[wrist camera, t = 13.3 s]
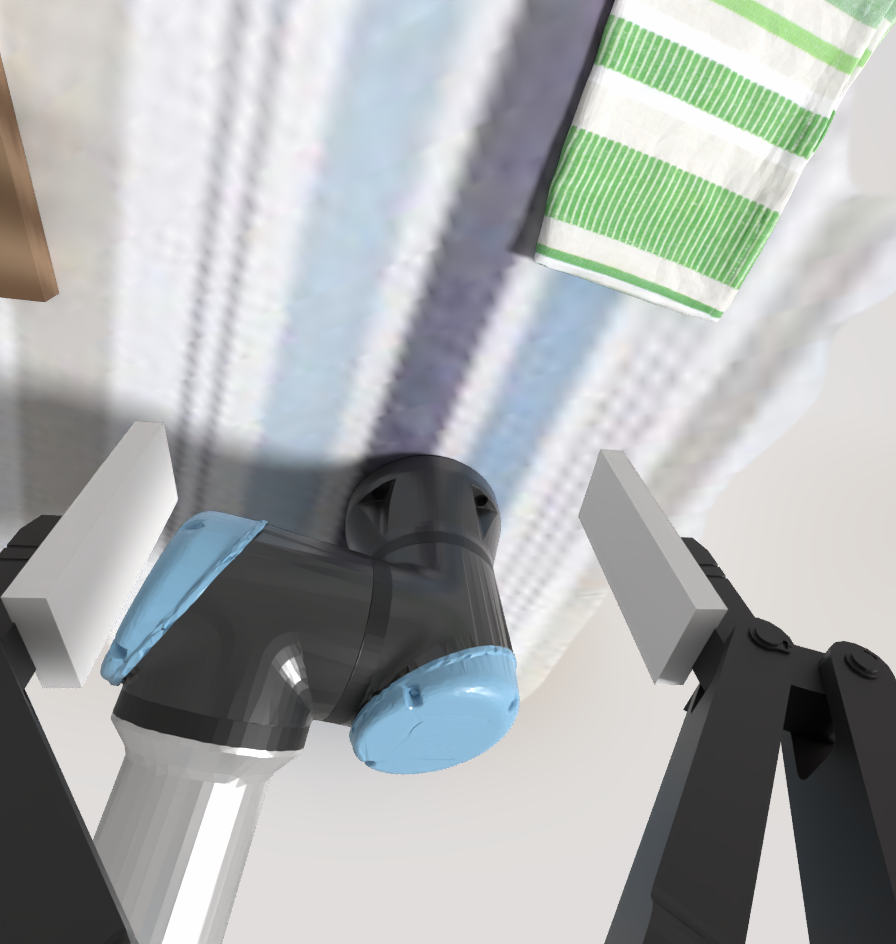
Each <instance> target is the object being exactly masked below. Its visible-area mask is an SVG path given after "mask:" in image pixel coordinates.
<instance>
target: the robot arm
mask: <svg viewBox="0 0 896 944" xmlns="http://www.w3.org/2000/svg"><path fill="white" fill-rule="evenodd" d="M177 501H178V496H177V490H176V485H175V480H174V474H173V469H172V463H171V458H170V452H169V447H168V441H167V436H166V430H165V425H164V423H161V422H145V421H135V422H134V423H133V425H132V426H131V427H130V428H129V430H128V431H127V432H126V434H125V435H124V436H123V438H122V439H121V440H120V442H119V443H118V444H117V446H116V447H115V448H114V449H113V451H112V452H111V453H110V455H109V456H108V457H107V459H106V460H105V461H104V463H103V464H102V465H101V466H100V468H99V469H98V470H97V472H96V473H95V474H94V476H93V477H92V478H91V480H90V481H89V482H88V483H87V485H86V486H85V487H84V489H83V490H82V491H81V493H80V494H79V495H78V497H77V498H76V499H75V501H74V502H73V503H72V504H71V506H70V507H69V508H68V510H67V511H66V512H65V514H64V515H63V516H54V515H41V516H40V517H38V518H36V519H35V520H33V521H32V522H30V523H29V524H27V525H26V526H24V527H22V528H21V529H20V530H19V531H18V532H17V534H16V535H15V536H14V537H13V538H12V540H11V541H10V542H9V543H8V544H7V548H4V549H3V550H2V551H1V553H0V944H222V941H223V938H224V934H225V931H226V927H227V924H228V921H229V917H230V914H231V910H232V907H233V903H234V900H235V897H236V893H237V890H238V886H239V883H240V879H241V876H242V872H243V869H244V866H245V862H246V859H247V855H248V852H249V848H250V845H251V842H252V838H253V835H254V832H255V828H256V825H257V821H258V818H259V814H260V811H261V808H262V804H263V801H264V797H265V794H266V790H267V787H268V783H269V780H270V777H271V776H272V775H273V774H274V773H275V772H276V771H277V770H279V769H280V768H282V767H283V766H285V765H286V764H287V763H289V762H290V761H291V760H293V759H294V758H296V757H297V756H299V755H300V754H301V753H302V751H303V748H304V745H305V741H306V737H307V734H308V731H309V727H310V724H311V722H312V721H313V720H319V721H324V722H330V723H335V724H339V725H344V726H348V727H351V730H350V734H349V737H350V741H351V744H352V746H353V750H354V753H355V755H356V756H357V757H358V759H359V760H360V761H362V762H365V764H366V765H367V766H368V767H370V768H372V769H375V770H377V771H381V772H385V773H391V774H419V773H426V772H432V771H438V770H442V769H445V768H449V767H452V766H455V765H457V764H460V763H463V762H466V761H468V760H470V759H472V758H475V757H476V756H478V755H480V754H482V753H483V752H485V751H487V750H488V749H490V748H491V747H492V746H494V745H495V744H496V743H497V742H498V741H499V740H501V739H502V738H503V737H504V736H505V734H506V733H507V732H508V731H509V729H510V728H511V726H512V725H513V723H514V721H515V719H516V716H517V714H518V710H519V702H520V698H519V690H518V684H517V676H516V666H517V663H516V658H515V654H513V650H512V646H511V642H510V637H509V633H508V629H507V625H506V621H505V616H504V612H503V608H502V604H501V600H500V595H499V591H498V587H497V583H496V579H495V575H494V570H493V565H494V560H495V555H496V551H497V546H498V542H499V537H500V531H501V518H500V512H499V509H498V505H497V501H496V497H495V495H494V492H493V490H492V489H491V487H490V485H489V484H488V483H487V481H486V480H485V479H484V478H483V477H482V476H481V475H480V474H479V473H477V472H476V471H475V470H473V469H472V468H470V467H468V466H466V465H464V464H462V463H460V462H457V461H455V460H451V459H447V458H443V457H436V456H415V457H408V458H403V459H400V460H396V461H393V462H390V463H388V464H386V465H384V466H382V467H380V468H378V469H376V470H375V471H373V472H372V473H371V474H369V475H368V476H367V477H366V478H365V479H364V480H363V481H362V482H361V483H360V484H359V485H358V486H357V488H356V489H355V491H354V492H353V494H352V496H351V498H350V500H349V503H348V507H347V513H346V524H345V535H346V541H347V545H348V548H349V549H347V548H344V547H340V546H337V545H333V544H330V543H326V542H323V541H319V540H316V539H313V538H310V537H306V536H303V535H300V534H297V533H293V532H290V531H287V530H284V529H281V528H277V527H274V526H271V525H268V521H266V520H260V521H255V520H251V519H247V518H243V517H239V516H235V515H231V514H227V513H223V512H218V511H205V512H201V513H198V514H196V515H194V516H192V517H191V518H189V519H188V520H187V521H186V522H185V523H184V524H183V525H182V526H181V527H180V528H179V529H178V531H177V532H176V533H175V535H174V536H173V538H172V539H171V541H170V542H169V544H168V545H167V547H166V548H165V550H164V551H163V553H162V554H161V556H160V557H159V559H158V560H157V562H156V564H155V565H154V567H153V569H152V570H151V572H150V573H149V575H148V577H147V578H146V580H145V582H144V583H143V585H142V587H141V589H140V590H139V592H138V594H137V596H136V597H135V599H134V601H133V603H132V604H131V606H130V608H129V610H128V612H127V614H126V615H125V617H124V619H123V621H122V623H121V625H120V627H119V629H118V631H117V633H116V636H115V639H114V641H113V643H112V645H111V647H110V650H109V651H108V653H107V654H106V656H105V658H104V660H103V663H102V666H101V671H100V673H101V676H102V677H103V678H104V679H106V680H108V681H109V682H110V684H111V685H116V686H119V685H120V683H122V684H123V687H122V690H121V692H120V695H119V697H118V700H117V702H116V705H115V707H114V710H113V712H112V715H111V720H112V722H113V724H114V726H115V728H116V730H117V731H118V733H119V735H120V737H121V739H122V741H123V743H124V745H125V752H126V755H125V757H124V760H123V763H122V766H121V768H120V771H119V773H118V776H117V779H116V781H115V784H114V786H113V789H112V792H111V794H110V797H109V800H108V802H107V805H106V807H105V810H104V812H103V815H102V818H101V820H100V823H99V826H98V828H97V831H96V833H95V836H94V839H93V841H92V838H91V836H90V834H89V832H88V829H87V827H86V825H85V823H84V820H83V818H82V816H81V814H80V811H79V809H78V807H77V805H76V803H75V801H74V798H73V796H72V794H71V791H70V789H69V787H68V785H67V782H66V780H65V778H64V776H63V773H62V772H61V769H60V767H59V764H58V762H57V760H56V758H55V756H54V753H53V751H52V749H51V747H50V744H49V742H48V740H47V738H46V735H45V733H44V731H43V729H42V726H41V724H40V722H39V720H38V717H37V715H36V713H35V711H34V708H33V706H32V704H31V702H30V700H29V697H28V695H27V693H26V691H25V687H26V685H27V683H28V682H29V680H30V679H31V677H32V676H33V674H34V672H36V675H37V677H38V679H39V681H40V683H41V685H42V687H43V688H82V687H83V685H84V683H85V681H86V679H87V677H88V675H89V673H90V672H91V669H92V668H93V666H94V664H95V662H96V660H97V658H98V656H99V654H100V652H101V650H102V648H103V646H104V644H105V642H106V640H107V638H108V636H109V634H110V632H111V630H112V628H113V626H114V624H115V623H116V621H117V619H118V617H119V615H120V613H121V611H122V609H123V607H124V605H125V603H126V601H127V599H128V597H129V595H130V593H131V591H132V589H133V587H134V585H135V583H136V581H137V579H138V577H139V575H140V574H141V572H142V570H143V568H144V566H145V564H146V562H147V560H148V558H149V556H150V554H151V552H152V550H153V548H154V546H155V544H156V542H157V540H158V538H159V536H160V534H161V532H162V530H163V528H164V526H165V525H166V523H167V521H168V519H169V517H170V515H171V513H172V511H173V509H174V507H175V505H176V503H177ZM578 517H579V519H580V521H581V523H582V526H583V528H584V530H585V532H586V534H587V537H588V539H589V541H590V543H591V545H592V548H593V550H594V552H595V554H596V556H597V559H598V561H599V563H600V565H601V567H602V570H603V572H604V574H605V576H606V579H607V581H608V583H609V585H610V587H611V590H612V592H613V594H614V596H615V598H616V600H617V603H618V605H619V607H620V609H621V612H622V614H623V616H624V618H625V620H626V623H627V625H628V627H629V629H630V631H631V634H632V636H633V638H634V640H635V642H636V645H637V647H638V649H639V651H640V653H641V656H642V658H643V660H644V662H645V664H646V667H647V669H648V671H649V673H650V675H651V678H652V680H653V682H654V684H655V685H683V684H684V682H685V681H686V679H687V677H688V675H689V674H690V672H691V671H692V669H693V671H694V673H695V675H696V676H697V678H698V680H699V682H700V683H699V685H698V687H697V688H696V690H695V691H694V693H693V695H692V696H691V698H690V700H689V701H688V703H687V705H686V706H685V708H684V710H685V711H687V714H686V717H685V720H684V723H683V725H682V728H681V731H680V734H679V737H678V739H677V742H676V745H675V748H674V750H673V753H672V756H671V759H670V762H669V764H668V767H667V770H666V773H665V776H664V778H663V781H662V784H661V787H660V790H659V792H658V795H657V798H656V801H655V804H654V806H653V809H652V812H651V815H650V817H649V821H648V823H647V826H646V829H645V832H644V834H643V837H642V840H641V843H640V846H639V849H638V851H637V854H636V857H635V859H634V862H633V865H632V868H631V871H630V873H629V876H628V879H627V882H626V885H625V887H624V890H623V893H622V896H621V899H620V901H619V904H618V907H617V910H616V913H615V916H614V918H613V921H612V924H611V927H610V929H609V932H608V935H607V938H606V940H605V943H604V944H745V941H746V935H747V930H748V924H749V918H750V913H751V907H752V901H753V896H754V890H755V884H756V879H757V873H758V867H759V862H760V856H761V850H762V844H763V839H764V833H765V828H766V822H767V816H768V810H769V805H770V799H771V793H772V788H773V782H774V777H775V771H776V765H777V760H778V754H779V748H780V743H781V746H782V753H783V760H784V767H785V773H786V780H787V788H788V795H789V802H790V809H791V816H792V822H793V830H794V837H795V843H796V850H797V857H798V864H799V871H800V878H801V885H802V892H803V899H804V906H805V912H806V920H807V927H808V934H809V941H810V944H896V679H895V676H894V675H893V673H892V671H891V670H890V668H889V667H888V665H887V664H886V663H885V662H884V661H882V660H881V659H880V657H878V656H877V655H875V654H874V653H872V652H871V651H869V650H868V649H866V648H864V647H862V646H859V645H857V644H854V643H850V642H846V641H841V642H835V643H834V644H833V645H832V646H831V647H830V648H829V649H828V651H827V652H826V653H822V652H818V651H815V650H811V649H807V648H804V647H800V646H796V645H794V644H793V642H792V641H791V639H790V637H788V635H786V634H785V633H784V632H783V631H782V630H781V629H780V628H778V627H777V626H775V625H773V624H772V623H770V622H768V621H765V620H762V619H760V618H755V617H754V616H753V614H752V613H751V611H750V610H749V608H748V607H747V606H746V604H745V603H744V601H743V600H742V599H741V597H740V596H739V594H738V593H737V592H736V590H735V588H734V587H733V586H732V584H731V583H730V581H729V580H728V579H726V578H725V574H724V573H723V571H722V570H721V569H720V567H718V566H717V565H718V564H717V563H716V561H715V560H714V559H713V557H712V556H711V554H710V553H709V551H708V550H707V549H705V548H704V547H703V546H702V545H701V544H699V543H698V542H697V541H696V540H694V539H693V538H684V537H680V536H679V535H678V533H677V532H676V530H675V529H674V527H673V526H672V524H671V523H670V521H669V520H668V518H667V516H666V515H665V513H664V512H663V510H662V509H661V507H660V506H659V504H658V503H657V501H656V500H655V498H654V497H653V495H652V494H651V492H650V491H649V489H648V488H647V486H646V485H645V483H644V482H643V480H642V479H641V477H640V476H639V474H638V473H637V471H636V470H635V468H634V467H633V465H632V464H631V462H630V461H629V459H628V458H627V456H626V455H625V453H624V452H623V451H620V450H604V449H600V452H599V455H598V458H597V461H596V464H595V467H594V470H593V473H592V476H591V479H590V482H589V485H588V489H587V492H586V495H585V498H584V501H583V504H582V507H581V510H580V513H579V516H578Z"/></svg>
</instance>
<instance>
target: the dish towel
mask: <svg viewBox="0 0 896 944" xmlns="http://www.w3.org/2000/svg"><path fill="white" fill-rule="evenodd" d="M895 23H896V0H615V1H614V4H613V7H612V10H611V13H610V15H609V18H608V21H607V23H606V26H605V29H604V32H603V35H602V39H601V43H600V46H599V50H598V53H597V56H596V59H595V62H594V65H593V68H592V71H591V73H590V76H589V78H588V80H587V82H586V85H585V88H584V90H583V93H582V96H581V99H580V102H579V104H578V107H577V110H576V113H575V116H574V119H573V121H572V124H571V126H570V129H569V132H568V134H567V137H566V140H565V143H564V145H563V148H562V151H561V155H560V159H559V162H558V166H557V168H556V171H555V174H554V176H553V179H552V181H551V184H550V187H549V193H548V199H547V203H546V208H545V213H544V219H543V223H542V227H541V231H540V234H539V238H538V242H537V245H536V250H535V256H534V262H535V263H537V264H540V265H544V266H545V267H549V268H551V269H554V270H557V271H562V272H565V273H568V274H571V275H574V276H577V277H580V278H582V279H585V280H588V281H591V282H594V283H597V284H600V285H603V286H606V287H609V288H611V289H614V290H617V291H620V292H623V293H625V294H628V295H631V296H634V297H637V298H639V299H642V300H645V301H648V302H650V303H653V304H656V305H660V306H662V307H665V308H668V309H671V310H674V311H677V312H680V313H683V314H687V315H691V316H694V317H698V318H702V319H705V320H709V321H713V322H717V321H718V320H719V319H720V317H721V315H722V314H723V312H724V311H725V310H726V309H727V308H728V307H729V306H730V304H731V302H732V301H733V299H734V297H735V295H736V293H737V291H738V290H739V289H740V287H741V284H742V283H743V281H744V280H745V278H746V276H747V274H748V273H749V271H750V269H751V267H752V266H753V264H754V262H755V261H756V259H757V257H758V256H759V254H760V252H761V251H762V249H763V247H764V245H765V243H766V241H767V239H768V238H769V236H770V234H771V233H772V231H773V229H774V227H775V225H776V223H777V221H778V219H779V217H780V215H781V213H782V211H783V209H784V207H785V205H786V203H787V201H788V199H789V197H790V195H791V193H792V191H793V189H794V187H795V184H796V182H797V180H798V178H799V176H800V174H801V172H802V170H803V168H804V167H805V165H806V163H807V162H808V161H809V159H810V158H811V157H812V155H813V154H814V153H815V151H816V150H817V148H818V147H819V145H820V143H821V141H822V140H823V138H824V136H825V134H826V132H827V131H828V129H829V126H830V123H831V121H832V119H833V117H834V115H835V112H836V110H837V108H838V106H839V104H840V102H841V100H842V99H843V97H844V95H845V93H846V92H847V90H848V88H849V87H850V85H851V84H852V83H853V81H854V80H855V79H856V77H857V76H858V75H859V73H860V72H861V70H862V69H863V67H864V66H865V64H866V63H867V61H868V59H869V57H870V56H871V55H872V53H873V51H874V50H875V49H876V47H877V46H878V44H879V43H880V42H881V41H882V39H883V38H884V37H885V36H886V34H887V33H888V32H889V30H890V29H891V28H892V26H893V25H894V24H895Z"/></svg>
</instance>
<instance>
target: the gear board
mask: <svg viewBox="0 0 896 944" xmlns="http://www.w3.org/2000/svg"><path fill="white" fill-rule="evenodd" d="M57 294H59V291H58V287H57V283H56V279H55V275H54V271H53V267H52V263H51V259H50V255H49V251H48V247H47V242H46V238H45V234H44V230H43V226H42V222H41V218H40V214H39V210H38V206H37V202H36V198H35V194H34V190H33V185H32V181H31V177H30V173H29V169H28V165H27V161H26V157H25V153H24V149H23V145H22V141H21V137H20V133H19V128H18V124H17V120H16V116H15V112H14V108H13V104H12V100H11V96H10V92H9V88H8V84H7V80H6V76H5V71H4V67H3V63H2V59H1V55H0V297H2V298H11V299H21V300H30V301H39V302H46V301H48V300H49V299H51V298H52V297H54V296H56V295H57Z"/></svg>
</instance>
